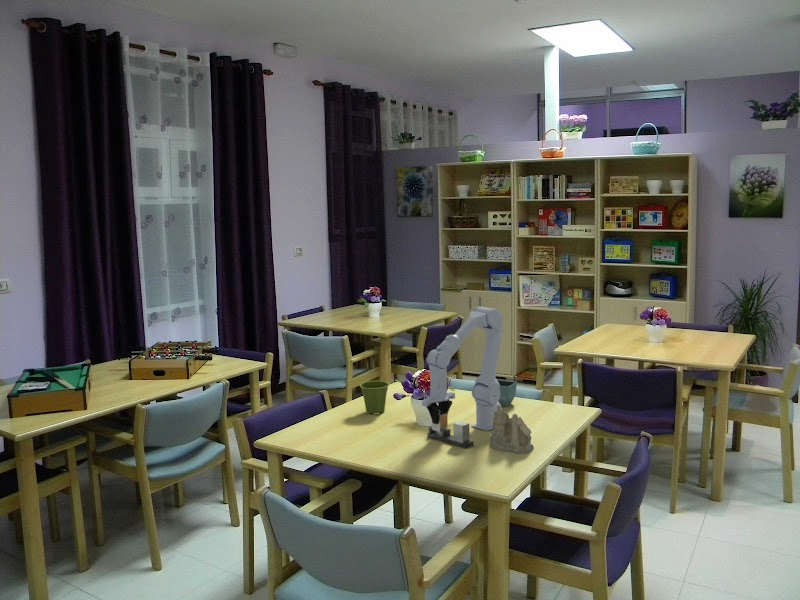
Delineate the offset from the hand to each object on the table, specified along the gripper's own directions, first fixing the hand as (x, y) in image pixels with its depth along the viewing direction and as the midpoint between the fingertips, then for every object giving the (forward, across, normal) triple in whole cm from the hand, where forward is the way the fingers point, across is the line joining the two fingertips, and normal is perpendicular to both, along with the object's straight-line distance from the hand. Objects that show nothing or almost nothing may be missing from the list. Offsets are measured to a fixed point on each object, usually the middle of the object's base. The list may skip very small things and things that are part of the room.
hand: (439, 422), depth 251 cm
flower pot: (+6, +48, +10) cm, 49 cm away
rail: (+6, 0, -5) cm, 8 cm away
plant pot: (+6, +6, +42) cm, 42 cm away
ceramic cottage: (+6, +12, -23) cm, 27 cm away
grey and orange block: (+3, 0, 0) cm, 3 cm away
